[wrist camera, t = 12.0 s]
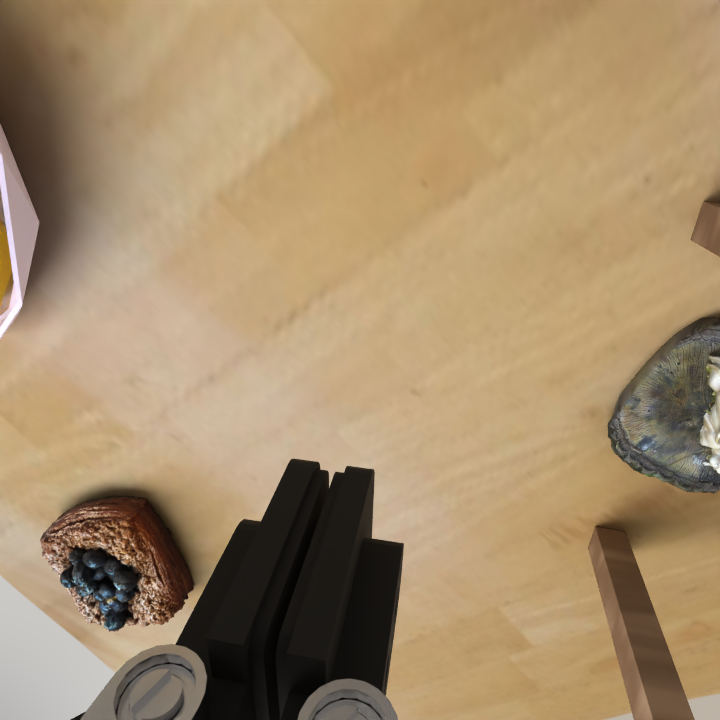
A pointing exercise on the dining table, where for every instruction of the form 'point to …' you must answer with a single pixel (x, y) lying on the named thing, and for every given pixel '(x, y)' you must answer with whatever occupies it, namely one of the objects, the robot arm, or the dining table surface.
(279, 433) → the dining table surface
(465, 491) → the dining table surface
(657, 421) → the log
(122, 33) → the dining table surface
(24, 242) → the fruit bowl
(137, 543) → the pastry
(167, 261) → the dining table surface
